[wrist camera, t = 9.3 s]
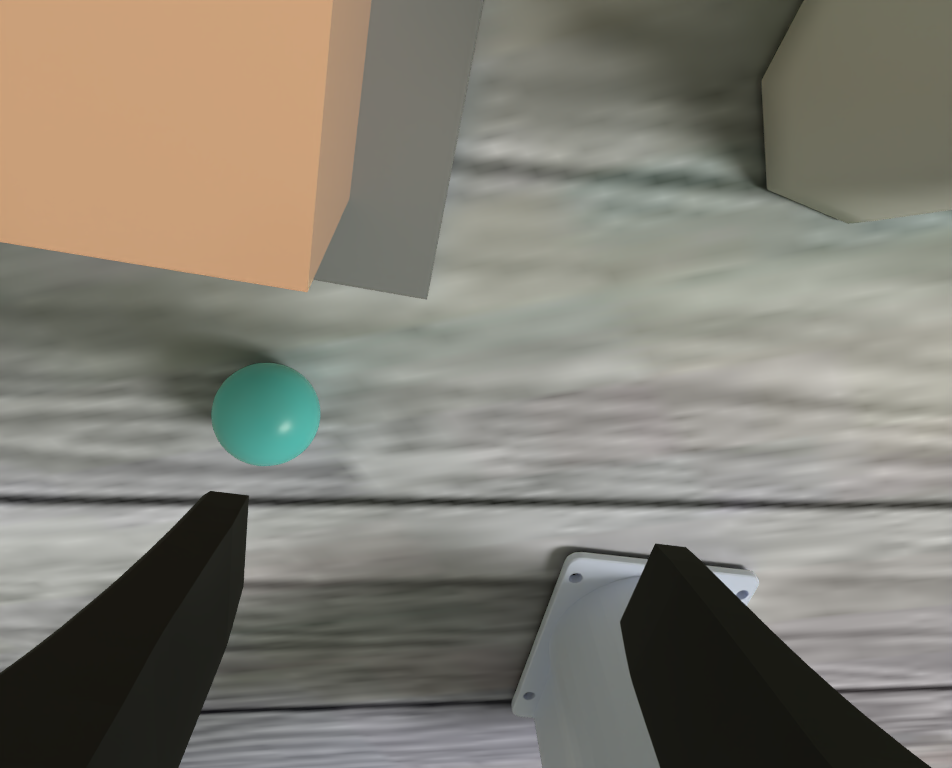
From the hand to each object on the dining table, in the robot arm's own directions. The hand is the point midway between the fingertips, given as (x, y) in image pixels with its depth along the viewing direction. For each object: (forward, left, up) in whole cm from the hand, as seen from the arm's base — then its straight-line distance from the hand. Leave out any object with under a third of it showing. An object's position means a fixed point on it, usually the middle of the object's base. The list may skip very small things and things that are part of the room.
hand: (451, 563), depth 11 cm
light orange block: (+6, +6, -9) cm, 12 cm away
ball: (-2, +5, -9) cm, 11 cm away
